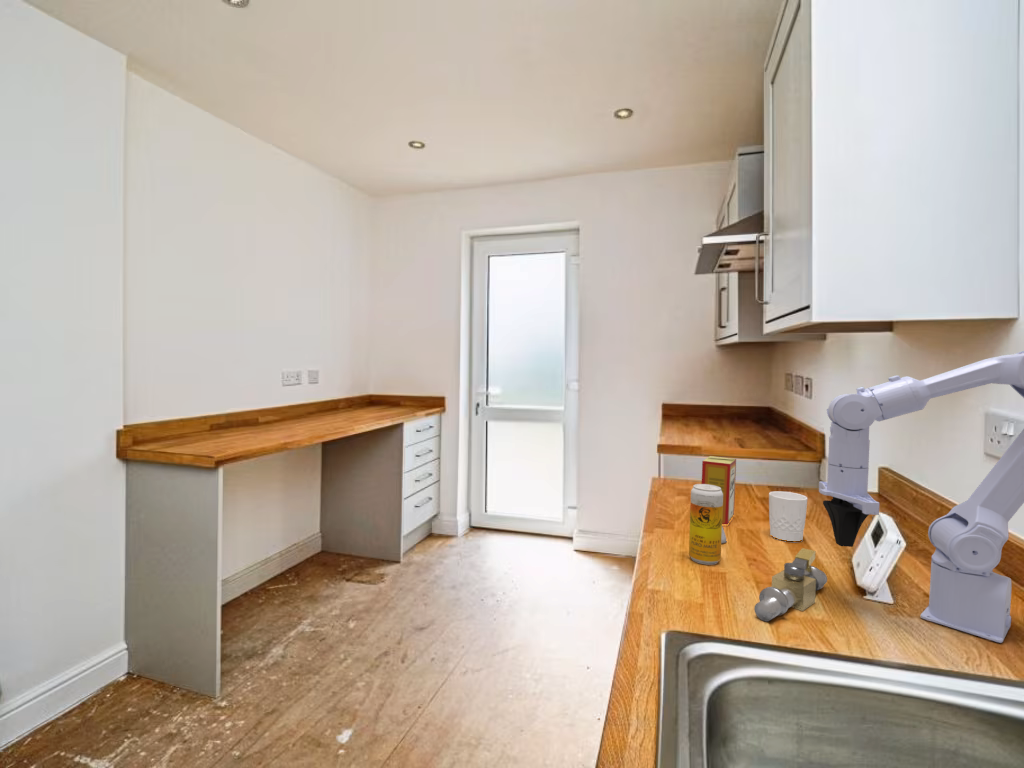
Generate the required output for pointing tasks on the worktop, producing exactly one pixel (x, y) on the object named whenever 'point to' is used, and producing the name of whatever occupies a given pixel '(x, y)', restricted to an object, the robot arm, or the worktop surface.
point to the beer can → (705, 524)
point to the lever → (799, 564)
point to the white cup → (787, 515)
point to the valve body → (789, 593)
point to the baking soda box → (721, 481)
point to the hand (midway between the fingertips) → (844, 545)
